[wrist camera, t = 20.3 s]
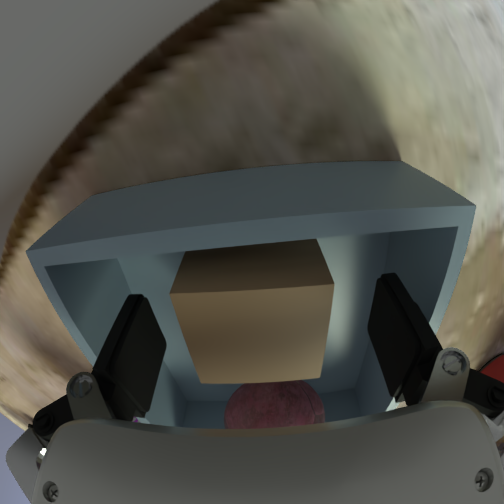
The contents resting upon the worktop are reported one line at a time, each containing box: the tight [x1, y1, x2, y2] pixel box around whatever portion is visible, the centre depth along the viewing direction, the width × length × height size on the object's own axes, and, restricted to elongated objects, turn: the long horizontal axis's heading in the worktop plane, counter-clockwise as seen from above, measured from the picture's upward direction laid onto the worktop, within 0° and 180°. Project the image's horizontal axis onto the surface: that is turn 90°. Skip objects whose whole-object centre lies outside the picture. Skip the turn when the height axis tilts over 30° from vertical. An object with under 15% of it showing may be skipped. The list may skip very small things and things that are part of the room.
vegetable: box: [224, 380, 325, 429], centre depth 14 cm, size 6×6×10 cm
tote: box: [26, 161, 476, 429], centre depth 14 cm, size 15×18×6 cm
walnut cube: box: [169, 239, 335, 384], centre depth 12 cm, size 5×5×5 cm
